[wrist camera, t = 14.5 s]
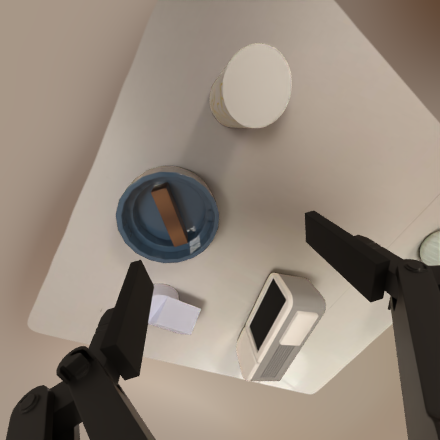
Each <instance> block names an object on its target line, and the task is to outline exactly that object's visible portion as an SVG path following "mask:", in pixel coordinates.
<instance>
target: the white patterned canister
mask: <svg viewBox="0 0 440 440" xmlns="http://www.w3.org/2000/svg"><path fill="white" fill-rule="evenodd" d="M291 90H292V77H291V72H290V68H289V65H288V63H287V61H286V59H285V58H284V56H283V55H282V54H281V53H280V52H279V51H278V50H277V49H276V48H274V47H272V46H270V45H267V44H263V43H256V44H251V45H248V46H246V47H244V48H242V49H241V50H239V51H238V52H237V53H236V54H235V55H234V56H233V58H232V59H231V60H230V62H229V63H228V64H227V66H226V67H225V68H224V70H223V71H222V73H221V74H220V75H219V77H218V78H217V79H216V81H215V82H214V84H213V86H212V88H211V91H210V97H209V102H210V108H211V111H212V113H213V115H214V117H215V118H216V120H217V121H218V122H220V123H221V124H222V125H224V126H227V127H232V128H262V127H265V126H268V125H270V124H271V123H273V122H274V121H276V120H277V119H278V118H279V117H280V116H281V114H282V113H283V112H284V110H285V108H286V106H287V104H288V102H289V99H290V95H291Z"/></svg>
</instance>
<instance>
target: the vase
mask: <svg viewBox="0 0 440 440" xmlns="http://www.w3.org/2000/svg"><path fill="white" fill-rule="evenodd" d="M420 256H421V260H422V261H423V262H424V263H425V264H426V265H428V266H433V265H440V231H437V232H435V233H433V234H431V235H430V236H428V237H427V238H426V239H425V240H424V242H423V243H422V245H421V247H420Z"/></svg>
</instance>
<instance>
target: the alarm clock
mask: <svg viewBox="0 0 440 440" xmlns="http://www.w3.org/2000/svg"><path fill="white" fill-rule="evenodd" d="M325 310H326V303H325V300H324V298H323V296H322V295H321V294H320V293H319V291H318V290H317V289H316V288H315V287H314V285H313V284H312V283H311V282H310V281H309V280H308V279H307V278H302V277H296V276H290V275H284V274H278V273H271V274H270V276H269V277H268V279H267V281H266V283H265V285H264V287H263V289H262V291H261V294H260V296H259V298H258V300H257V302H256V304H255V306H254V308H253V310H252V312H251V314H250V316H249V318H248V320H247V322H246V324H245V325H246V327H244V329H243V331H242V333H241V335H240V337H239V339H238V341H237V345H236V351H237V356H238V360H239V364H240V369H241V373H242V376H243V378H244V380H245V381H280V380H281V378H282V377H283V375H284V374H285V372H286V371H287V369H288V368H289V366H290V365H291V363H292V362H293V360H294V359H295V357H296V355H297V354H298V352H299V351H300V349H301V348H302V346H303V345H304V343H305V342H306V340H307V339H308V337H309V336H310V334H311V333H312V331H313V329H314V328H315V326H316V325H317V323H318V322H319V320H320V319H321V317H322V316H323V314H324V312H325Z"/></svg>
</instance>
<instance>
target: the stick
mask: <svg viewBox="0 0 440 440" xmlns="http://www.w3.org/2000/svg"><path fill="white" fill-rule="evenodd" d="M151 194H152V197H153V199H154V201H155V203H156V206H157V208H158V210H159V213H160V215H161V217H162V220H163V222H164V224H165V227H166V229H167V231H168V233H169V236H170V238H171V240H172V243H173V245H174V247H177V246H180V245H183V244H186V243H188V237H187V231H186V228H185V226H184V223H183V220H182V218H181V215H180V213H179V210H178V207H177V205H176V202H175V200H174V197H173V195H172V192H171V189H170V187H169V184H168V182H166V183H163V184H159V185H156V186H154V187H153V189H152V191H151Z"/></svg>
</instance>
